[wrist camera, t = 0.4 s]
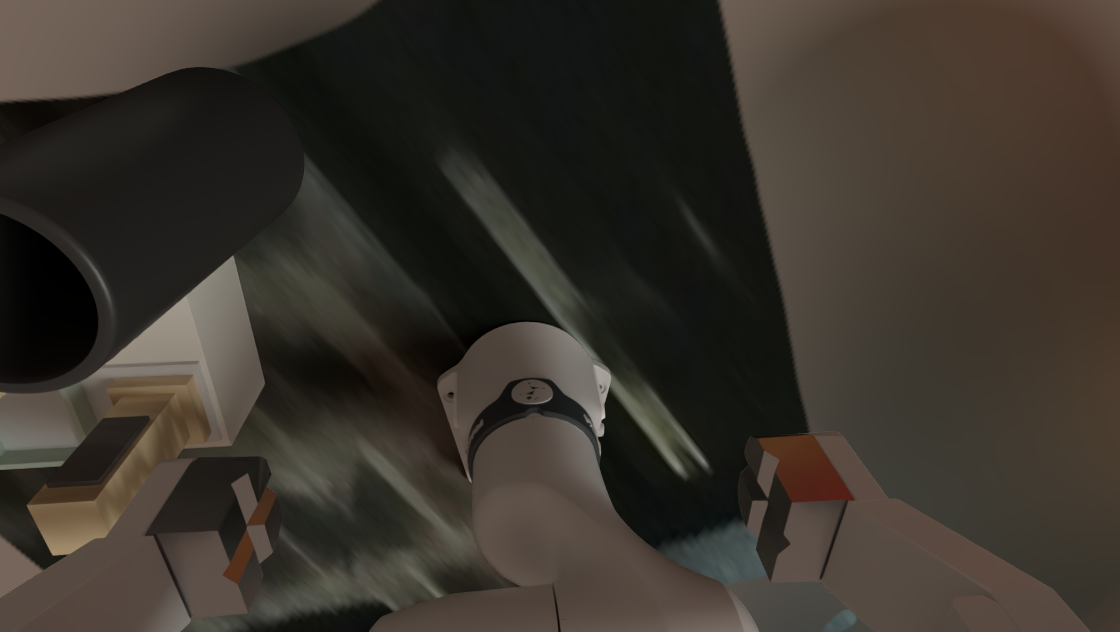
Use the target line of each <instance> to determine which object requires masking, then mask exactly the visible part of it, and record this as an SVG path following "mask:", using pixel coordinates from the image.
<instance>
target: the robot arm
mask: <svg viewBox="0 0 1120 632" xmlns="http://www.w3.org/2000/svg"><path fill="white" fill-rule="evenodd" d="M610 382H611V373H610V370H609V369H608V368H607V367H606V366H605V365H603V364H601V363H600V362H598V361H596V360H594V359H592V358H590V357H589V356H588V355H587V353H586V352H585V351H584V350H583V348H582V347H581V346H580V344H579V343H578V342H577V341H576V340H575V339H574V338H573V337H571V336H570V335H569V334H567V333H566V332H564V331H562V330H560V329H558V328H556V327H554V326H551V325H547V324H543V323H536V322H519V323H512V324H508V325H504V326H501V327H499V328H496V329H494V330H492V331H490V332H488V333H487V334H485V335H483V336H482V337H481V338H480V339H478V340H477V341H476V342H475V343H474V344H473V345H472V346H471V347H470V349H469V350H468V351H467V353H466V354H465V356H464V357H463V358H462V360H461V361H460V362H459V363H458V364H457V365H456V366H454V367H452V368H451V369H449V370H447V371H446V372H445V373H443V374H442V375H441V376H440V377H439V378H438V380H437V388H438V392H439V395H440V398H441V401H442V404H443V407H444V410H445V413H446V415H447V418H448V421H449V424H450V427H451V430H452V433H453V436H454V439H455V442H456V445H457V448H458V451H459V454H460V457H461V460H462V463H463V465H464V468H465V471H466V474H467V477H468V479H469V481H470V482H471V483H472V484H473V491H472V531H473V536H474V539H475V542H476V544H477V546H478V549H479V550H480V552H481V553H482V555H483V556H484V558H485V559H486V560H487V561H488V563H489V564H490V565H491V566H492V567H493V568H494V569H495V570H496V571H497V572H498V573H499V574H500V575H501V576H503V577H504V578H506V579H508V580H509V581H511V582H513V583H515V584H517V585H520V586H522V587H514V588H504V589H494V590H485V591H475V592H465V593H455V594H450V595H446V596H443V597H440V598H436V599H433V600H429V601H426V602H423V603H419V604H416V605H413V606H410V607H407V608H405V609H402V610H399V611H396V612H393V613H390V614H387V615H384V616H382V617H381V618H380V619H379V620H378V621H377V622H376V623H375V624H374V625H373V627H372V628H371V629H370V631H369V632H759V630H758V629H757V626H756V624H755V622H754V621H753V619H752V617H751V616H750V614H749V612H748V611H747V609H746V608H745V607H744V606H743V604H742V603H741V602H740V600H739V599H738V598H737V597H736V596H735V595H734V594H733V593H732V592H731V591H730V590H729V589H728V588H727V587H726V586H724V585H723V584H722V583H721V582H719V581H717V580H715V579H712V578H710V577H707V576H704V575H701V574H699V573H696V572H694V571H692V570H690V569H687V568H685V567H683V566H681V565H679V564H677V563H675V562H674V561H672V560H670V559H668V558H667V557H665V556H664V555H662V554H661V553H659V552H658V551H656V550H655V549H654V548H652V547H651V546H650V545H648V544H647V543H646V542H645V541H643V540H642V539H641V538H640V537H639V536H638V535H636V534H635V533H634V532H633V531H632V530H631V529H630V528H629V527H628V526H627V525H626V524H625V523H624V521H623V520H622V519H621V518H620V517H619V515H618V514H617V512H616V511H615V509H614V508H613V505H612V503H611V501H610V498H609V496H608V493H607V490H606V488H605V485H604V482H603V479H602V476H601V472H600V469H599V463H600V454H601V445H600V442H599V441H598V436H599V437H600V436H603V434H604V424H603V423H601V420H602V419H604V418H605V410H604V403H605V399H606V396H607V393H608V389H609V386H610ZM599 384H600V386H599ZM449 392H453V393H454V394H453V395H450V394H448V393H449ZM744 454H745V456H746V459H747V461H748V463H749V466H748V467H746V468H745V469H744V470H743V471H742V472H741V473H740V478H739V484H738V499H739V506H740V510H741V514H742V517H743V520H744V522H745V525H746V527H747V528H748V529H749V530H750V531H752V532H753V533H754V534H756V535H757V536H758V537H759V538H758V542H757V547H756V550H757V553H758V555H759V557H760V560H761V562H762V564H763V566H764V569H765V571H766V573H767V576H768V578H769V580H770V582H771V583H775V582H806V581H821V584H822V585H823V586H824V587H825V588H826V589H827V590H829V592H831V593H832V594H833V595H834V596H835V597H836V598H837V599H838V600H839V601H841V602H842V603H843V604H844V605H845V606H846V607H847V608H848V609H849V610H850V611H852V612H853V613H854V614H855V615H856V616H857V617H858V618H859V619H860V620H862V621H863V622H864V623H865V624H866V625H867V626H868V627H869V628H870V629H872V630H873V631H874V632H1090V631H1089V630H1088V629H1087V627H1086V626H1085V625H1084V624H1083V623H1082V622H1081V621H1080V619H1079V618H1078V617H1077V616H1076V615H1075V614H1074V613H1073V612H1072V610H1071V609H1070V608H1069V607H1068V606H1067V605H1066V604H1065V602H1064V601H1063V600H1062V599H1061V598H1060V597H1059V596H1058V594H1057V593H1056V592H1055V591H1054V590H1053V589H1052V588H1050V587H1048V586H1046V585H1045V584H1043V583H1041V582H1040V581H1038V580H1036V579H1035V578H1033V577H1031V576H1029V575H1028V574H1026V573H1024V572H1023V571H1021V570H1019V569H1017V568H1016V567H1014V566H1012V565H1010V564H1009V563H1007V562H1005V561H1003V560H1002V559H1000V558H998V557H997V556H995V555H993V554H992V553H990V552H988V551H986V550H985V549H983V548H981V547H980V546H978V545H976V544H974V543H973V542H971V541H969V540H967V539H966V538H964V537H962V536H961V535H959V534H957V533H955V532H954V531H952V530H950V529H949V528H947V527H945V526H943V525H942V524H940V523H938V522H936V521H935V520H933V519H931V518H930V517H928V516H926V515H925V514H923V513H921V512H919V511H918V510H916V509H914V508H913V507H911V506H909V505H907V504H905V503H904V502H902V501H900V500H899V499H888V497H887V496H886V495H885V493H884V492H883V491H882V489H881V488H880V486H879V485H878V484H877V482H876V481H875V480H874V478H873V477H872V476H871V474H870V473H869V471H868V470H867V469H866V467H865V466H864V464H863V463H862V462H861V460H860V459H859V458H858V456H857V455H856V454H855V452H854V451H853V450H852V448H851V447H850V445H849V444H848V443H847V441H846V440H845V439H844V437H843V436H842V435H841V434H839V433H838V432H836V431H832V432H816V433H807V434H787V435H766V436H751V437H750V438H749V440H748V442H747V444H746V449H745V453H744ZM270 476H271V472H270V469H269V466H268V463H267V460H266V459H264V458H262V457H208V458H198V459H196V458H188V459H166V460H164V461H162V462H160V463H159V464H157V466H156V467H155V468H154V470H153V471H152V473H151V474H150V475H149V477H148V478H147V480H146V481H145V482H144V484H143V485H142V487H141V488H140V489H139V491H138V492H137V494H136V495H135V496H134V498H133V499H132V501H131V502H130V503H129V505H128V506H127V508H126V509H125V510H124V512H123V513H122V515H121V516H120V517H119V519H118V520H117V522H116V523H115V524H114V526H113V527H112V529H111V530H110V531H109V533H108V534H107V536H106V537H105V538H95V539H93V540H91V541H90V542H88V543H87V544H85V545H83V546H82V547H80V548H79V549H77V550H75V551H74V552H72V553H71V554H69V555H68V556H66V557H64V558H63V559H61V560H60V561H58V562H57V563H55V564H53V565H52V566H50V567H49V568H47V569H45V570H44V571H42V572H41V573H39V574H38V575H36V576H34V577H33V578H31V579H30V580H28V581H26V582H25V583H24V584H22V585H20V586H19V587H17V588H15V589H14V590H12V591H11V592H9V593H8V594H6V595H4V596H3V597H1V598H0V632H181V631H182V630H183V629H184V628H185V627H186V626H187V625H188V624H189V623H190V622H191V619H190V618H199V617H210V616H222V615H233V614H245V613H249V610H250V608H251V605H252V603H253V600H254V598H255V595H256V593H257V591H258V588H259V586H260V583H261V581H262V578H263V573H262V570H261V567H260V563H261V562H262V561H263V560H264V559H266V558H267V557H268V556H269V555H270V554H272V553H273V551H274V548H275V545H276V543H277V540H278V537H279V531H280V524H281V509H280V503H279V499H278V496H277V494H276V493H275V492H273V491H272V490H271V489H269V488H268V487H267V486H266V485H267V483H268V481H269V479H270Z"/></svg>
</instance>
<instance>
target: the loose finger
mask: <svg viewBox="0 0 1120 632" xmlns="http://www.w3.org/2000/svg"><path fill="white" fill-rule="evenodd" d="M107 391H108V394H109V396H110V399H111V401H112V404H113V408H112V409H111V410H110V411H109V412H108V413H107V414H106V416H105V417H104V418H103V419H102V420H101V421H100V422H99V423H98V424H97V426H96V427H95V428H94V429H93V430H92V431H91V432H90V434H89V435H88V436H87V437H86V438H85V439H84V440H83V442H82V443H81V444H80V445H79V446H78V447H77V448H76V449H75V451H74V452H73V453H72V454H71V455H70V456H69V457H68V459H67V460H66V461H65V462H64V463H63V464H62V465H61V467H60V468H59V469H58V470H57V471H56V472H55V473H54V474H53V476H52V477H51V478H50V479H49V480H48V481H47V482H46V484H45V485H44V486H43V487H42V488H41V489H40V491H39V492H38V493H37V494H36V495H35V496H34V497H33V498H32V500H31V501H30V502H29V503H28V504H27V507H28V509H29V511H30V513H31V515H32V517H33V519H34V521H35V523H36V524H37V526H38V528H39V530H40V532H41V534H42V536H43V538H44V540H45V542H46V544H47V545H48V547H49V549H50V551H51V553H52V555H64V554H71V553H72V552H74V551H75V550H77V549H79V548H80V547H82V546H83V545H85V544H87V543H88V542H90V541H91V540H93V539H95V538H105V537H106V536H107V534H108V533H109V531H110V530H111V529H112V527H113V526H114V524H115V523H116V522H117V520H118V519H119V517H120V516H121V515H122V513H123V512H124V510H125V509H126V508H127V506H128V505H129V503H130V502H131V501H132V499H133V498H134V496H135V495H136V494H137V492H138V491H139V489H140V488H141V487H142V485H143V484H144V482H145V481H146V480H147V478H148V477H149V475H150V474H151V473H152V471H153V470H154V468H155V467H156V466H157V464H159V463H160V462H162V461H164V460H166V459H176V458H177V457H178V455H179V454H180V452H181V451H182V449H183V448H184V446H185V445H186V444H203V443H206V441H207V439H208V438H209V436H210V434H211V433H212V431H211V428H210V425H209V422H208V419H207V415H206V412H205V409H204V406H203V403H202V399H201V396H200V393H199V390H198V386H197V383H196V380H195V377H194V375H174V376H153V377H132V378H116V379H115V380H114V381H113V382H112V383H111V384H110V385H109V387H108V388H107Z"/></svg>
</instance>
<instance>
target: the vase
mask: <svg viewBox="0 0 1120 632" xmlns="http://www.w3.org/2000/svg"><path fill="white" fill-rule="evenodd" d="M303 174H304V155H303V149H302V145H301V141H300V138H299V136H298V133H297V131H296V129H295V127H294V125H293V123H292V121H291V120H290V118H289V116H288V115H287V114H286V112H285V111H284V109H283V108H282V107H281V106H280V105H279V104H278V103H277V102H276V100H275V99H274V98H273V97H271V96H270V95H269V94H268V93H267V92H266V91H264V90H263V89H262V88H260V87H259V86H258V85H256V84H254V83H253V82H251V81H249V80H247V79H245V78H243V77H241V76H239V75H236V74H234V73H231V72H228V71H225V70H220V69H215V68H207V67H194V68H186V69H180V70H177V71H174V72H171V73H168V74H165V75H163V76H160V77H158V78H155V79H153V80H150V81H148V82H146V83H143V84H141V85H139V86H136V87H134V88H132V89H129V90H127V91H124V92H122V93H120V94H117V95H115V96H113V97H110V98H108V99H106V100H103V101H101V102H99V103H96V104H94V105H91V106H89V107H87V108H85V109H82V110H80V111H78V112H75V113H72V114H70V115H68V116H66V117H64V118H61V119H59V120H56V121H54V122H52V123H49V124H47V125H45V126H42V127H40V128H37V129H35V130H33V131H31V132H28V133H26V134H23V135H21V136H19V137H16V138H14V139H12V140H9V141H7V142H5V143H2V144H0V392H3V393H14V394H34V393H44V392H51V391H56V390H60V389H63V388H66V387H69V386H72V385H74V384H77V383H79V382H81V381H82V380H84V379H86V378H88V377H89V376H91V375H92V374H94V373H95V372H96V371H97V370H99V369H100V368H101V367H102V366H103V365H104V364H106V363H107V362H108V361H110V360H111V359H113V358H114V357H115V356H116V355H117V354H118V353H119V352H120V351H121V350H123V349H124V348H125V347H127V346H128V345H129V344H130V343H131V342H132V341H133V340H134V339H136V338H137V337H138V336H139V335H141V334H142V333H143V332H144V331H145V330H146V329H147V328H149V327H150V326H151V325H152V324H153V323H154V322H156V321H157V320H158V319H159V318H161V317H162V316H163V315H164V314H165V313H166V312H167V311H168V310H170V309H171V308H172V307H173V306H174V305H176V304H177V303H178V302H179V301H180V300H182V299H183V298H184V297H185V296H186V295H187V294H189V293H190V292H191V291H192V290H193V289H194V288H195V287H197V286H198V285H199V284H200V283H201V282H202V281H204V280H205V279H206V278H207V277H208V276H210V275H211V274H212V273H213V272H214V271H215V270H217V269H218V268H219V267H220V266H221V265H222V264H224V263H225V262H226V261H227V260H228V259H230V258H231V257H232V256H233V255H234V254H235V253H237V252H238V251H239V250H240V249H241V248H242V247H244V246H245V245H246V244H247V243H248V242H249V241H250V240H252V239H253V238H254V237H255V236H256V235H258V234H259V233H260V232H261V231H262V230H263V229H265V228H266V227H267V226H268V225H269V224H270V223H271V222H273V221H274V220H275V219H276V218H277V217H278V216H279V215H281V214H282V213H283V212H284V211H285V210H286V209H287V208H288V207H289V205H290V204H291V203H292V202H293V200H294V199H295V197H296V195H297V193H298V192H299V189H300V186H301V183H302V179H303Z"/></svg>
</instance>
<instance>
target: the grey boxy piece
mask: <svg viewBox="0 0 1120 632" xmlns="http://www.w3.org/2000/svg"><path fill="white" fill-rule="evenodd" d="M174 375H194V377H195V380H196V383H197V386H198V390H199V393H200V396H201V399H202V403H203V406H204V409H205V412H206V415H207V419H208V422H209V425H210V428H211V431H212V433H211V434H210V436H209V438H208V439H207V441H206V443H203V444H186V445H185V446H184V448H183V449H187V448H204V447H220V446H231V445H232V443H233V442H234V440H235V438H236V436H237V434H238V432H239V431H240V429H241V427H242V425H243V423H244V422H245V420H246V418H247V416H248V414H249V412H250V411H251V409H252V407H253V405H254V403H255V401H256V400H257V398H258V396H259V394H260V392H261V390H262V389H263V387H264V385H265V380H264V376H263V372H262V368H261V364H260V360H259V356H258V352H257V348H256V344H255V340H254V336H253V332H252V328H251V324H250V320H249V316H248V312H247V308H246V304H245V300H244V296H243V292H242V288H241V284H240V280H239V276H238V272H237V268H236V264H235V260H234V256H232V257H231V258H230V259H228V260H227V261H226V262H225V263H224V264H222V265H221V266H220V267H219V268H218V269H217V270H215V271H214V272H213V273H212V274H211V275H210V276H208V277H207V278H206V279H205V280H204V281H202V282H201V283H200V284H199V285H198V286H197V287H195V288H194V289H193V290H192V291H191V292H190V293H189V294H187V295H186V296H185V297H184V298H183V299H182V300H180V301H179V302H178V303H177V304H176V305H174V306H173V307H172V308H171V309H170V310H168V311H167V312H166V313H165V314H164V315H163V316H162V317H161V318H159V319H158V320H157V321H156V322H154V323H153V324H152V325H151V326H150V327H149V328H147V329H146V330H145V331H144V332H143V333H142V334H141V335H139V336H138V337H137V338H136V339H134V340H133V341H132V342H131V343H130V344H129V345H128V346H127V347H125V348H124V349H123V350H121V351H120V352H119V353H118V354H117V355H116V356H115V357H114V358H113V359H111V360H110V361H108V362H107V363H106V364H104V365H103V366H102V367H101V368H100V369H99V370H97V371H96V372H95V373H94V374H92V375H91V376H89V377H88V378H86V379H84V380H82V381H81V382H79V383H77V384H74V385H72V386H69V387H66V388H63V389H60V390H56V391H51V392H44V393H34V394H14V393H3V392H0V470H5V469H22V468H38V467H54V466H61V465H62V464H63V463H64V462H65V461H66V460H67V459H68V457H69V456H70V455H71V454H72V453H73V452H74V451H75V449H76V448H77V447H78V446H79V445H80V444H81V443H82V442H83V440H84V439H85V438H86V437H87V436H88V435H89V434H90V432H91V431H92V430H93V429H94V428H95V427H96V426H97V424H98V423H99V422H100V421H101V420H102V419H103V418H104V417H105V416H106V414H107V413H108V412H109V411H110V410H111V409H112V408H113V404H112V401H111V399H110V396H109V394H108V391H107V388H108V387H109V385H110V384H111V383H112V382H113V381H114V380H115V379H116V378H132V377H153V376H174Z"/></svg>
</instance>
